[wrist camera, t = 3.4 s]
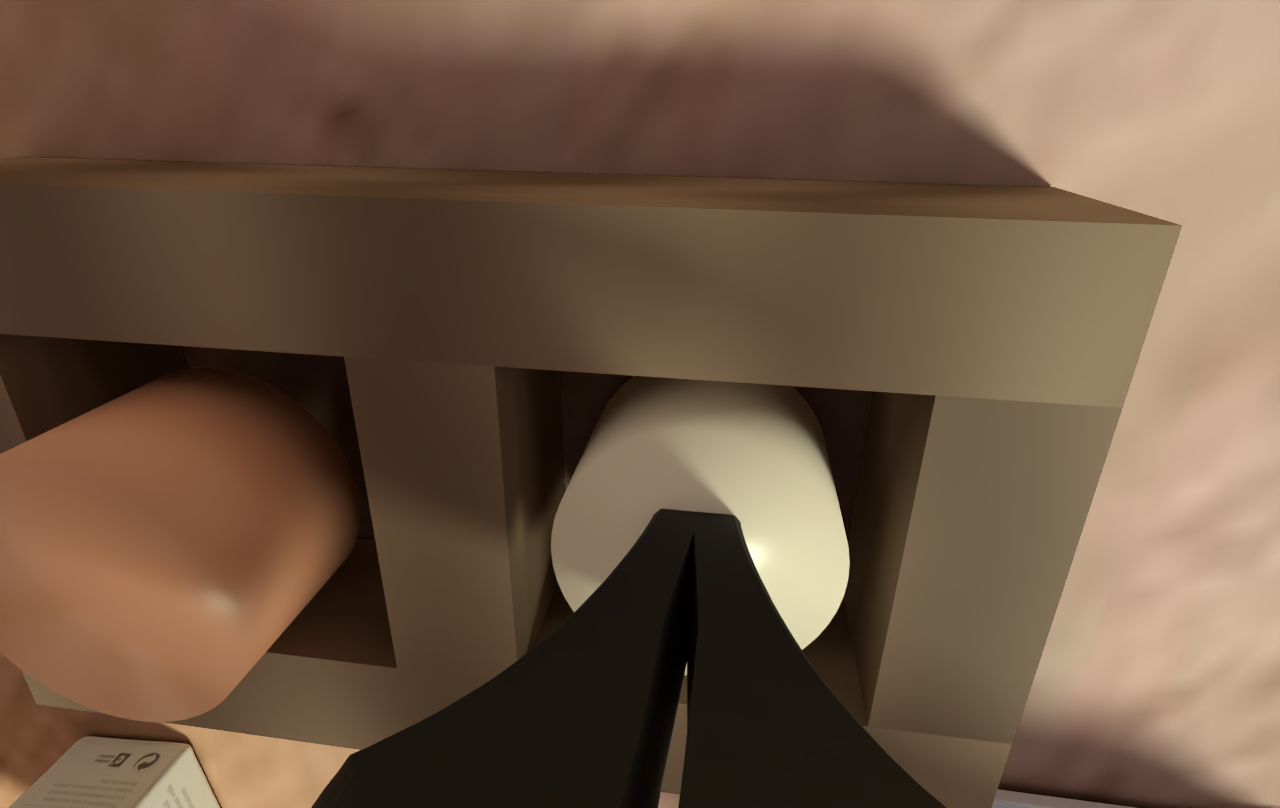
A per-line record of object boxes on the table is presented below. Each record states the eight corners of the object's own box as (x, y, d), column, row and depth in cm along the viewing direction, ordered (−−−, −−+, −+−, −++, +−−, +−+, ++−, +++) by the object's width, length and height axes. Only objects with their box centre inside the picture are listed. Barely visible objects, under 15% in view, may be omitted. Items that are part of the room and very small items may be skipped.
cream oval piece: (842, 361, 14) (871, 443, 10) (812, 571, 16) (829, 692, 12) (590, 346, 14) (545, 419, 11) (593, 549, 16) (556, 660, 13)
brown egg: (338, 376, 12) (198, 472, 9) (377, 599, 14) (274, 740, 11) (89, 359, 13) (-121, 443, 10) (161, 574, 15) (5, 701, 12)
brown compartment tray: (1054, 187, 12) (1181, 225, 9) (932, 678, 17) (981, 836, 13) (25, 156, 15) (-209, 176, 11) (168, 591, 20) (36, 704, 16)
